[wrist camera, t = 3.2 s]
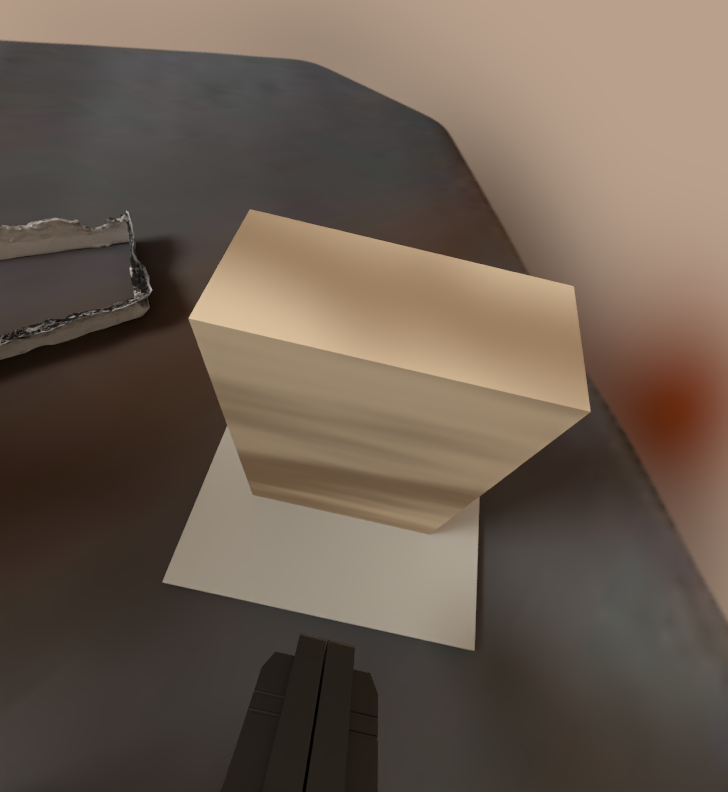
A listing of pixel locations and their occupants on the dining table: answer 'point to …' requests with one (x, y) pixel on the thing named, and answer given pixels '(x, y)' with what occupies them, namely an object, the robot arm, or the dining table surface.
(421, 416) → the maple slab
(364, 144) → the dining table surface
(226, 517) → the felt mat
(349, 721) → the robot arm
